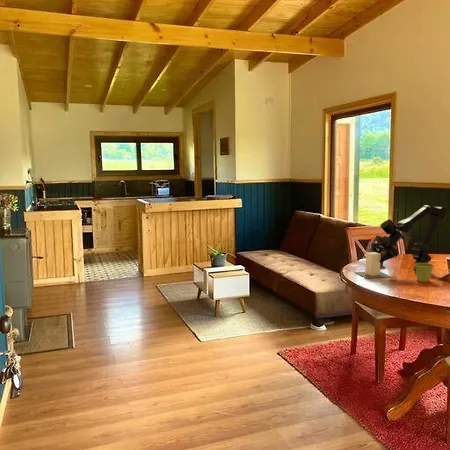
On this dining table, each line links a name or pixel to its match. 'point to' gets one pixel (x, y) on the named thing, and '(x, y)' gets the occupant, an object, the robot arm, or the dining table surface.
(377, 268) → the tall cream pillar
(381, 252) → the muffin
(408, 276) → the dining table surface
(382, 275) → the mat
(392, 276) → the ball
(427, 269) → the plant pot
